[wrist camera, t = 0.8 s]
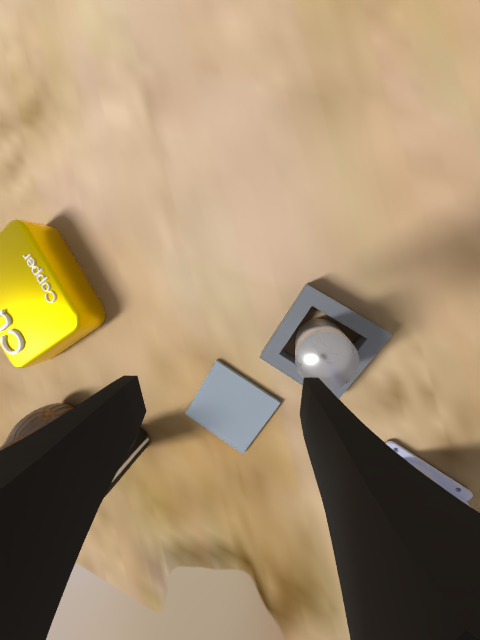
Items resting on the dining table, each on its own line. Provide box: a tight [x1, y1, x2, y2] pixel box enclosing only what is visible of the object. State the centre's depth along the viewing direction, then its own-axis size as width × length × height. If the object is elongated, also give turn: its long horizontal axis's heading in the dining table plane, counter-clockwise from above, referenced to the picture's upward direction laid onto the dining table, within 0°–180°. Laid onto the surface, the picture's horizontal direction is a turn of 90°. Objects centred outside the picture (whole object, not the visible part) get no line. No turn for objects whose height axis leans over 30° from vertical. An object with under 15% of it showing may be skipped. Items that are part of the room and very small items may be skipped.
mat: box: [185, 360, 281, 454], centre depth 28 cm, size 9×9×1 cm
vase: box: [0, 403, 74, 451], centre depth 31 cm, size 7×7×9 cm
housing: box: [259, 284, 393, 399], centre depth 23 cm, size 9×9×2 cm
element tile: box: [0, 220, 105, 368], centre depth 30 cm, size 15×15×5 cm
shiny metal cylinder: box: [295, 319, 359, 389], centre depth 21 cm, size 5×5×6 cm
